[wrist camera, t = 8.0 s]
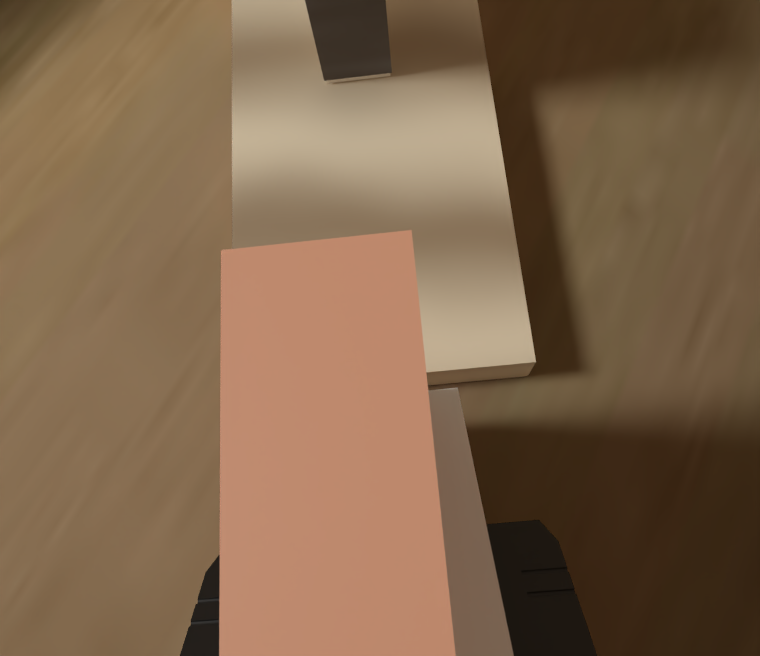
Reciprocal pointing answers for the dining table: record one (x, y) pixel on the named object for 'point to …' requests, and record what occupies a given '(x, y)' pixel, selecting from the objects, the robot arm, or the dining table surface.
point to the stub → (328, 455)
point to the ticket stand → (384, 158)
